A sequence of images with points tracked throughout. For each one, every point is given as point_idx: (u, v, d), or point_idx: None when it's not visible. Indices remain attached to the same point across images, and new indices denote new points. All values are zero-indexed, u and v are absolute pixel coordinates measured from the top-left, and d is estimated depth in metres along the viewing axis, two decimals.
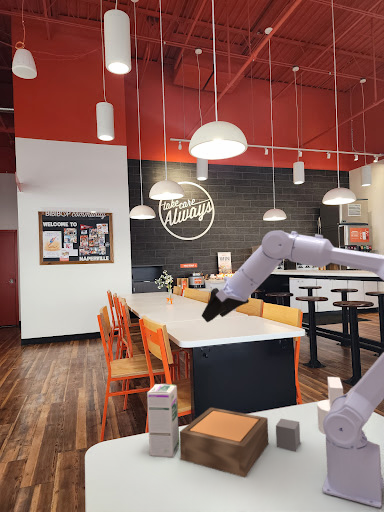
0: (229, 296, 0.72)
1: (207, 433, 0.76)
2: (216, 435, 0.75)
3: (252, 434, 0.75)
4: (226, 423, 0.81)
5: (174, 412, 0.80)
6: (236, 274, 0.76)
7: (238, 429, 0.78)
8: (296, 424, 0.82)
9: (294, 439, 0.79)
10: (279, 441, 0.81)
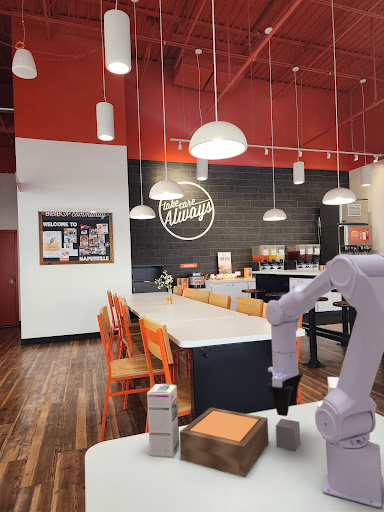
0: (283, 378, 0.77)
1: (207, 433, 0.76)
2: (216, 435, 0.75)
3: (252, 434, 0.75)
4: (226, 423, 0.81)
5: (174, 412, 0.80)
6: (273, 358, 0.82)
7: (238, 429, 0.78)
8: (296, 424, 0.82)
9: (294, 439, 0.79)
10: (279, 441, 0.81)
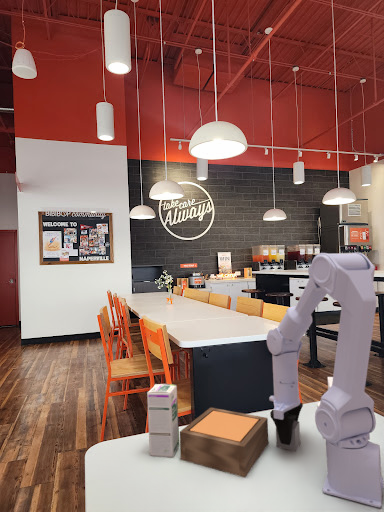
0: (284, 410, 0.77)
1: (207, 433, 0.76)
2: (216, 435, 0.75)
3: (252, 434, 0.75)
4: (226, 423, 0.81)
5: (174, 412, 0.80)
6: (275, 388, 0.82)
7: (238, 429, 0.78)
8: (296, 424, 0.82)
9: (294, 439, 0.79)
10: (279, 440, 0.81)
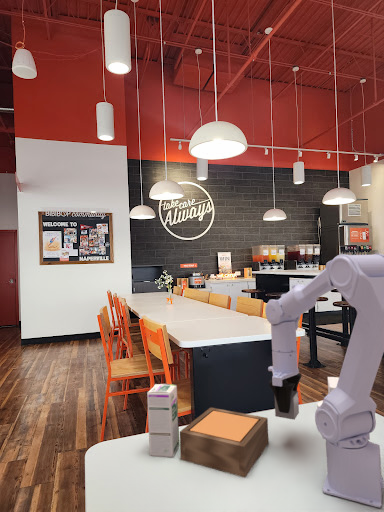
0: (283, 377, 0.77)
1: (207, 433, 0.76)
2: (216, 435, 0.75)
3: (252, 434, 0.75)
4: (226, 423, 0.81)
5: (174, 412, 0.80)
6: (273, 358, 0.82)
7: (238, 429, 0.78)
8: (295, 393, 0.82)
9: (293, 407, 0.79)
10: (278, 409, 0.81)
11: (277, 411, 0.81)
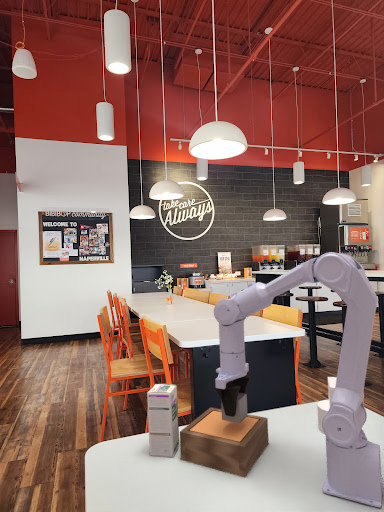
0: (226, 379, 0.74)
1: (207, 433, 0.76)
2: (216, 435, 0.75)
3: (252, 434, 0.75)
4: (226, 423, 0.81)
5: (174, 412, 0.80)
6: (220, 359, 0.79)
7: (238, 429, 0.78)
8: (242, 396, 0.79)
9: (238, 410, 0.76)
10: (224, 412, 0.78)
11: (223, 414, 0.78)
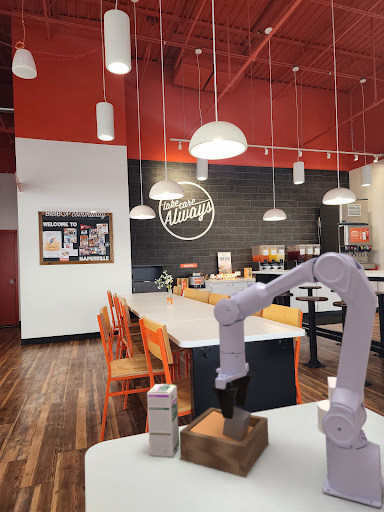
0: (226, 379, 0.74)
1: None
2: None
3: (252, 434, 0.75)
4: None
5: (174, 412, 0.80)
6: (220, 359, 0.79)
7: None
8: (247, 415, 0.78)
9: (241, 430, 0.76)
10: (226, 428, 0.78)
11: (225, 430, 0.78)
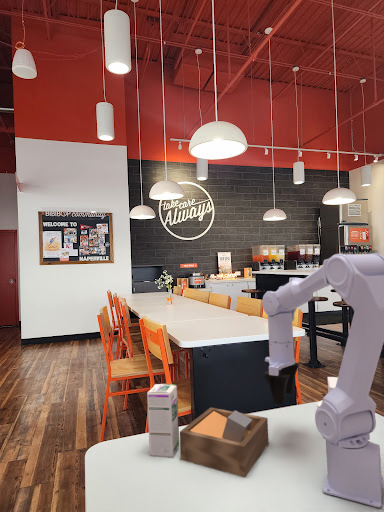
0: (279, 367, 0.78)
1: None
2: None
3: (252, 434, 0.75)
4: None
5: (174, 412, 0.80)
6: (270, 348, 0.83)
7: None
8: (248, 422, 0.78)
9: (241, 436, 0.76)
10: (227, 432, 0.78)
11: (225, 433, 0.78)
